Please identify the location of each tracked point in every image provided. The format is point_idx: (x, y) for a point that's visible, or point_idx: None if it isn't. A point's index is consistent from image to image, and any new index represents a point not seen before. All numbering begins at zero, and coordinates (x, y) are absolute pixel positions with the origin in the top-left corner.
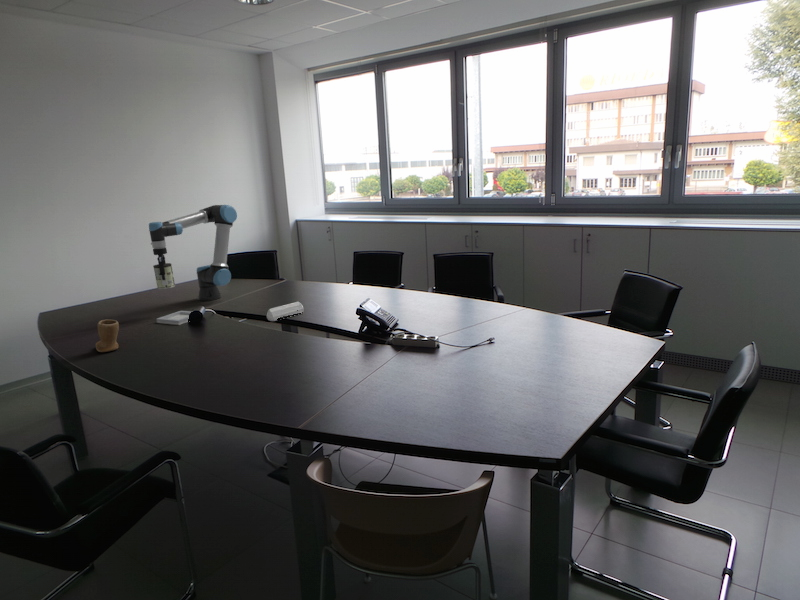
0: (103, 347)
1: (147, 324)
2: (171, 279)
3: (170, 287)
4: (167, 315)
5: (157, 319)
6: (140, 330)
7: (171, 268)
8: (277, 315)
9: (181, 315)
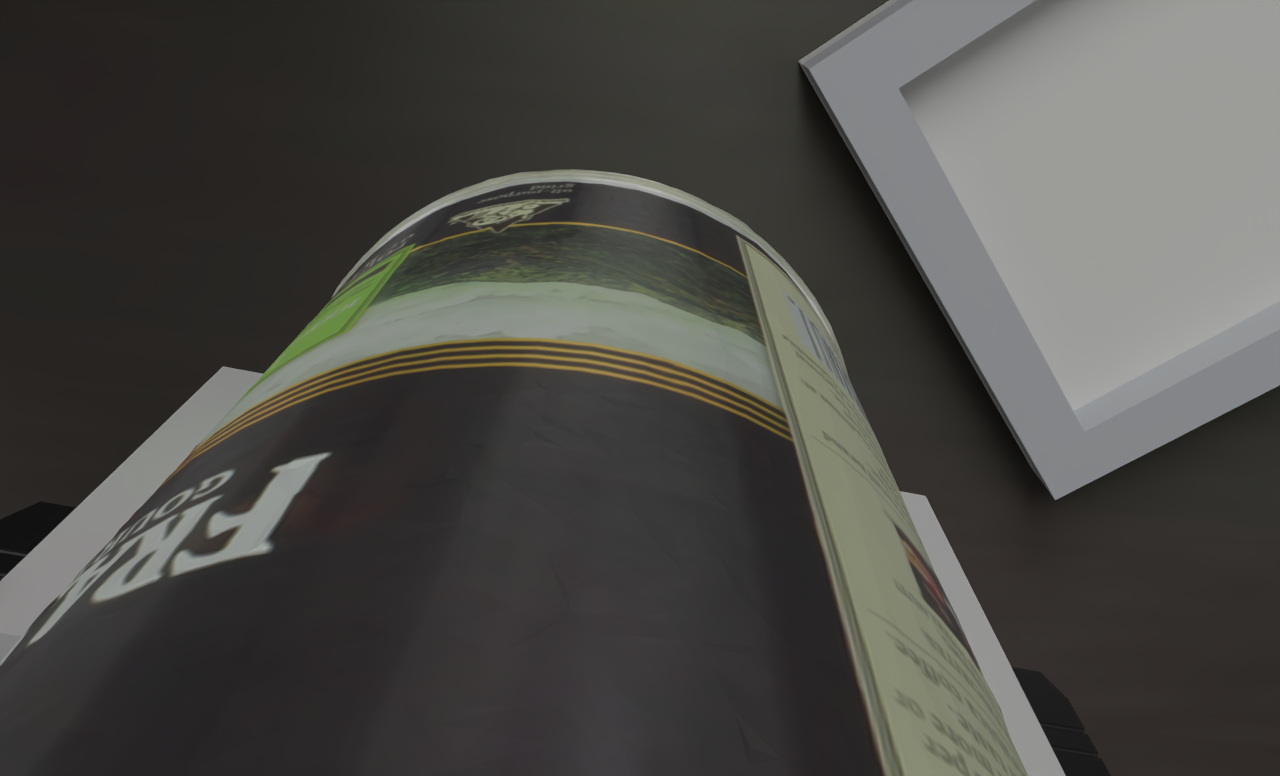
0: None
1: (1005, 580)
2: (843, 389)
3: (841, 356)
4: (994, 332)
5: (1069, 484)
6: (1250, 674)
7: (760, 619)
8: None
9: (1015, 89)
